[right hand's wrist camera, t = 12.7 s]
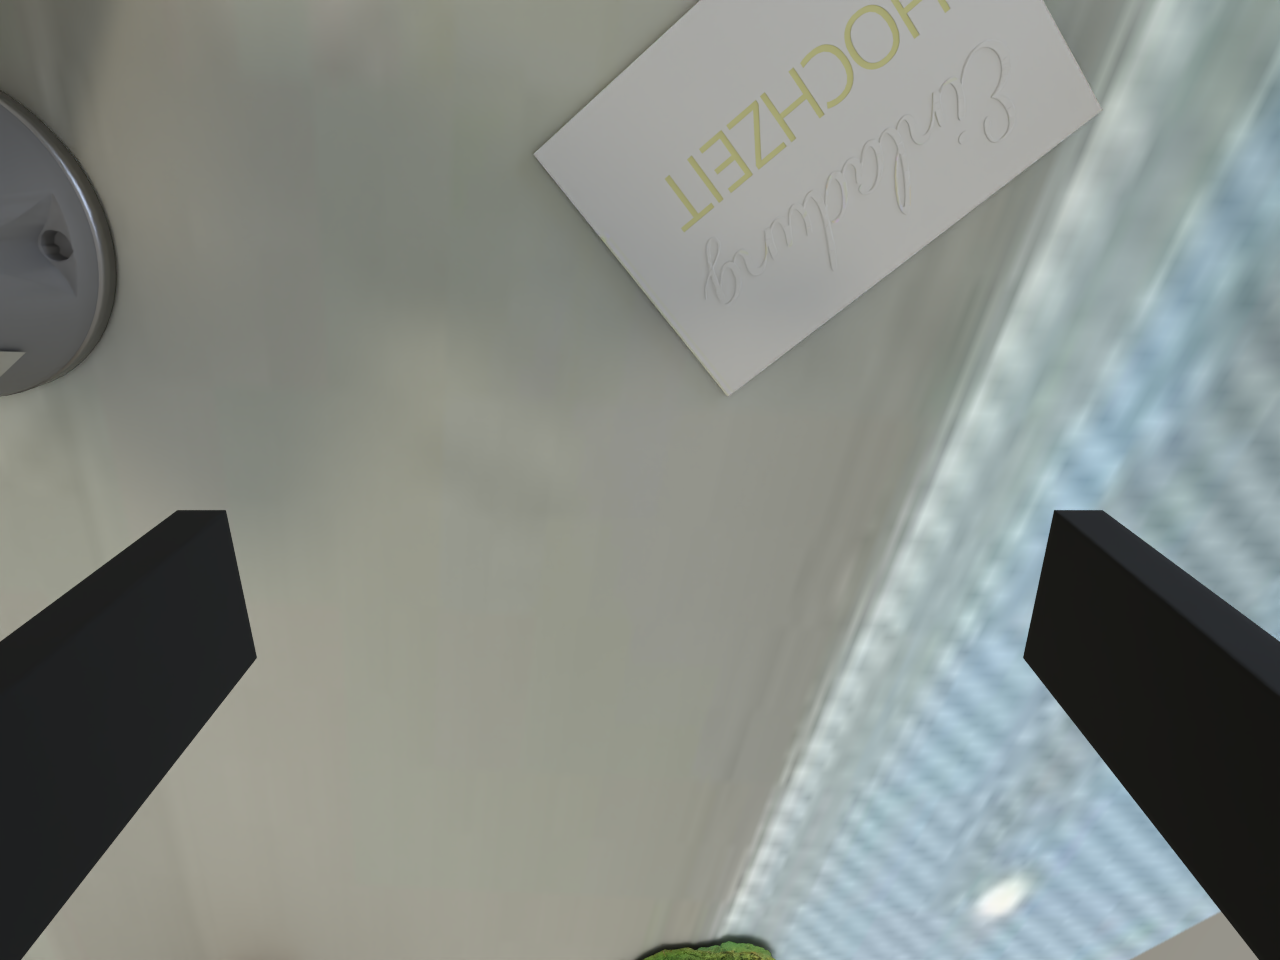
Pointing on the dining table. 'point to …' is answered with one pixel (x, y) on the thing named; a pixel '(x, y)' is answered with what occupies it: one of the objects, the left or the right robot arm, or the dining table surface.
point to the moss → (716, 953)
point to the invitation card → (808, 154)
